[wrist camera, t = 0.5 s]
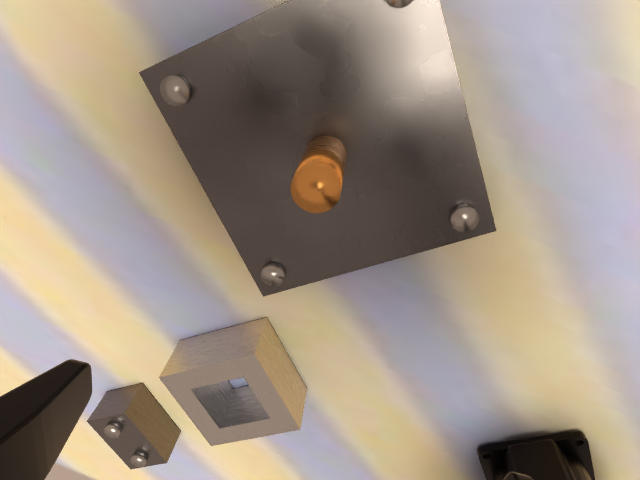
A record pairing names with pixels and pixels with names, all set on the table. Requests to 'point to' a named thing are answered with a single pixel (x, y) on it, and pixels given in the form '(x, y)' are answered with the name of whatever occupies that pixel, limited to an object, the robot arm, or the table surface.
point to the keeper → (328, 136)
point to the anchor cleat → (135, 426)
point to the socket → (231, 363)
